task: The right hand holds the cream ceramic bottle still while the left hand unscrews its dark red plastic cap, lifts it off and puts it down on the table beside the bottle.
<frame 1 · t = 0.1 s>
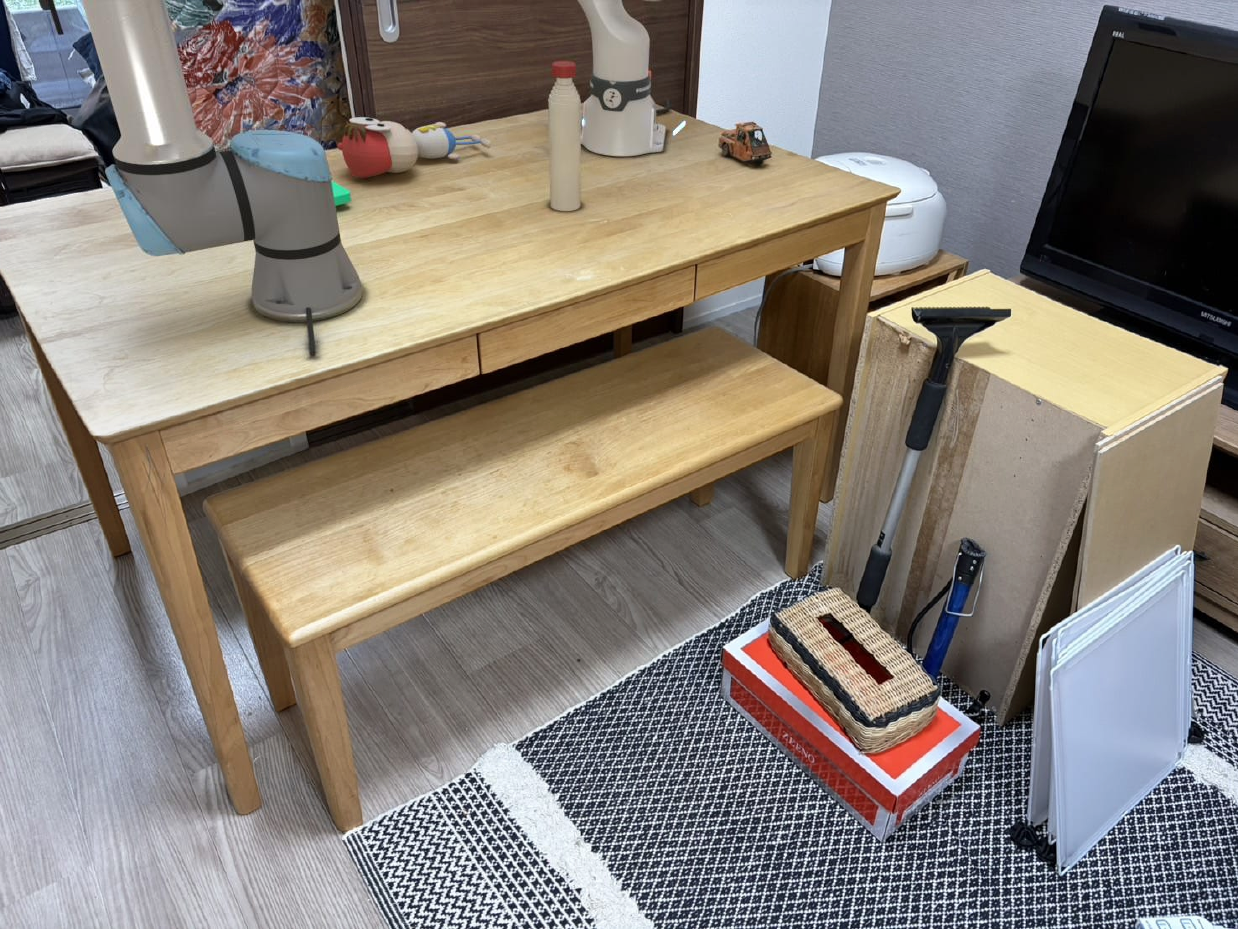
left hand: (108, 29, 146), 28 cm above the table, tool pointing down, fingers open, 13 cm apart
toy car: (744, 159, 188), on the table
cap: (564, 65, 152), point 24 cm above the table, screwed on, not yet turned
bottle: (565, 205, 166), on the table
toy: (417, 164, 181), on the table
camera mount: (318, 203, 164), on the table
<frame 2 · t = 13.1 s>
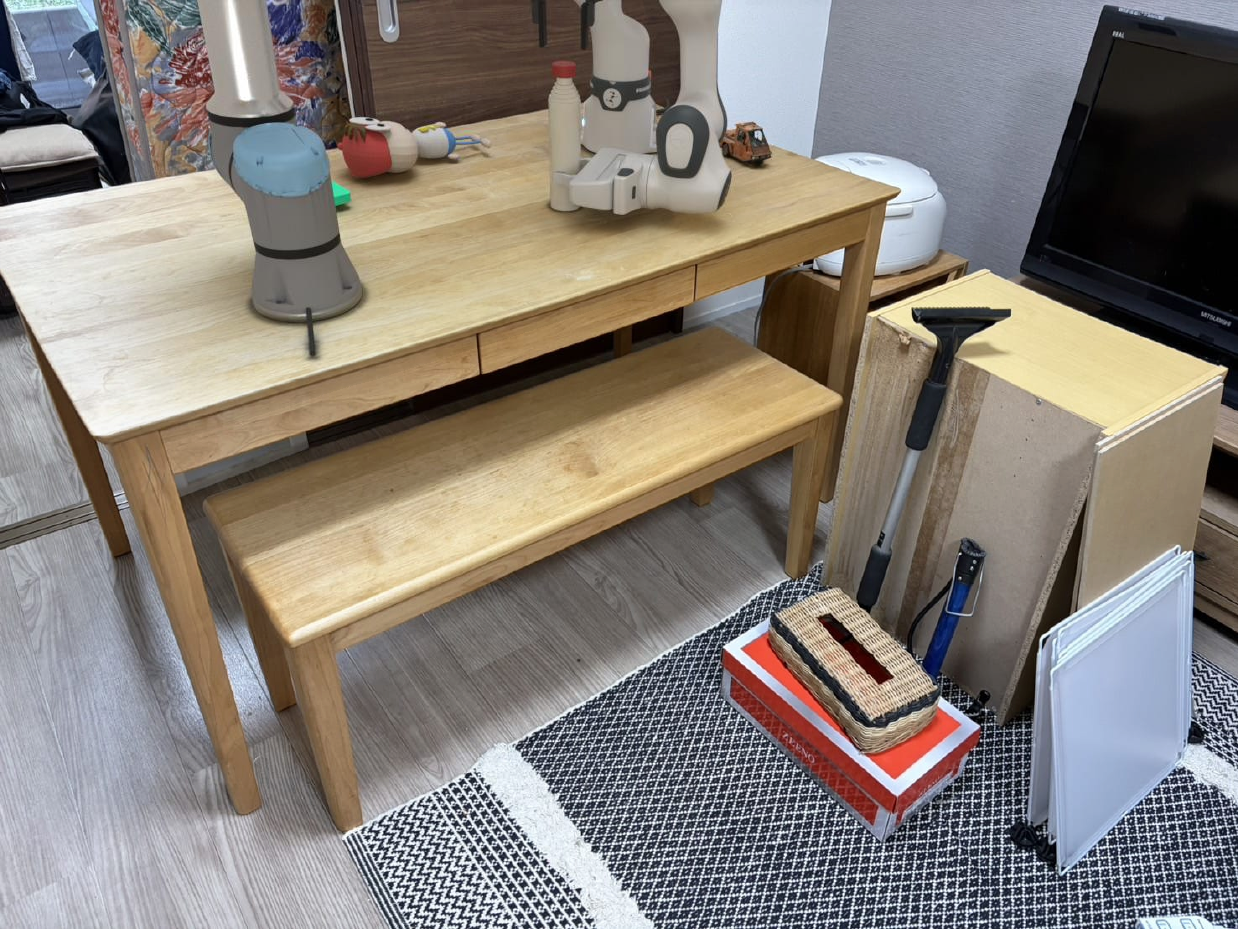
left hand: (563, 46, 150), 27 cm above the table, tool pointing down, fingers open, 6 cm apart
right hand: (560, 170, 163), 6 cm above the table, tool horizontal, fingers closed on bottle, 5 cm apart
bottle: (565, 205, 166), on the table, touching right hand
everything else where it was.
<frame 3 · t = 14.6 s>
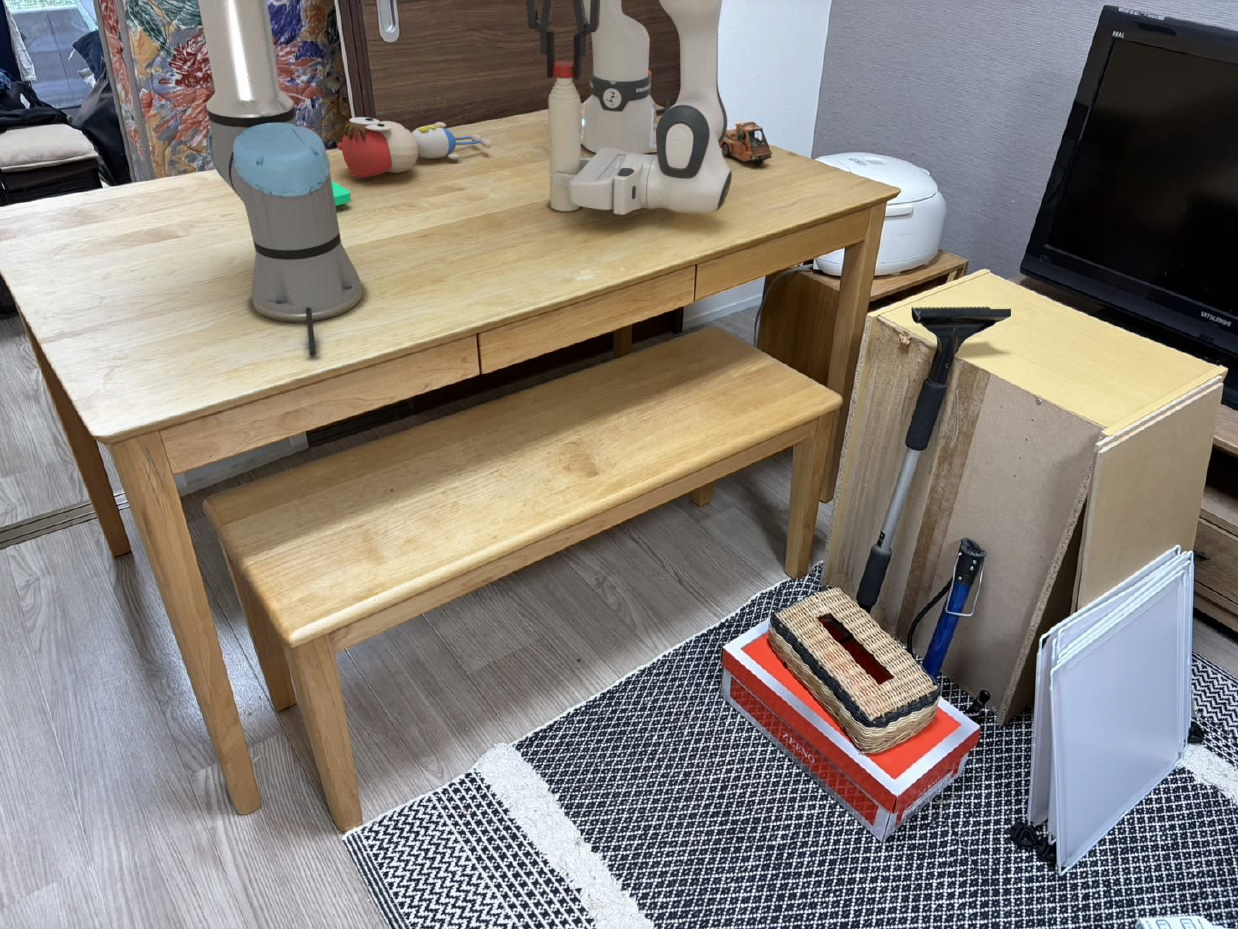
left hand: (564, 75, 153), 22 cm above the table, tool pointing down, fingers closed on cap, 4 cm apart
right hand: (560, 170, 162), 6 cm above the table, tool horizontal, fingers closed on bottle, 5 cm apart
cap: (564, 65, 152), point 24 cm above the table, screwed on, not yet turned, touching left hand
bottle: (565, 205, 166), on the table, touching right hand
everything else where it was.
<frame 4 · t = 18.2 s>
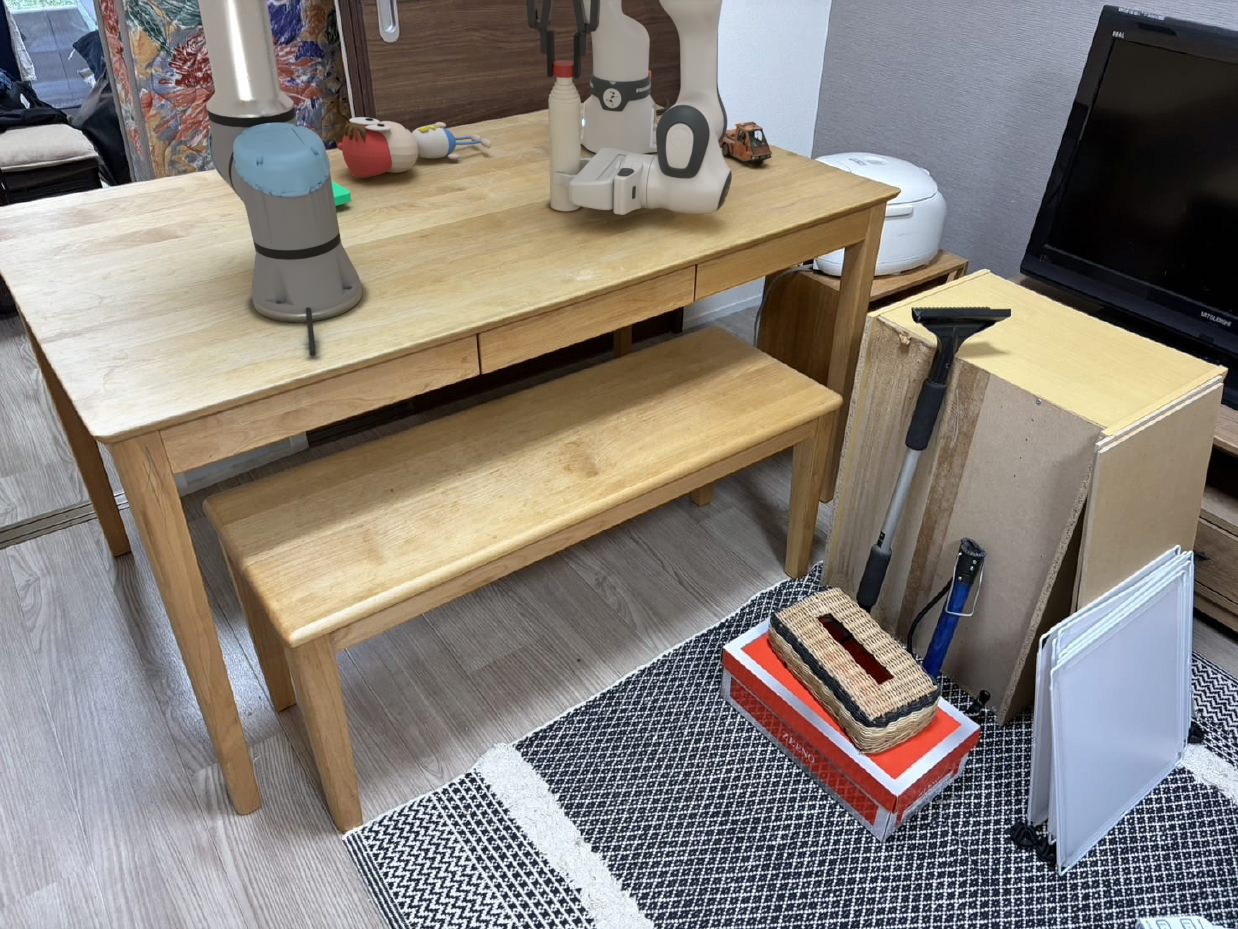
left hand: (564, 75, 153), 22 cm above the table, tool pointing down, fingers closed on cap, 4 cm apart
right hand: (560, 170, 162), 6 cm above the table, tool horizontal, fingers closed on bottle, 5 cm apart
cap: (564, 64, 152), point 24 cm above the table, turned 119° so far, risen 0.1 cm, still on its thread, touching left hand
bottle: (565, 205, 166), on the table, touching right hand
everything else where it was.
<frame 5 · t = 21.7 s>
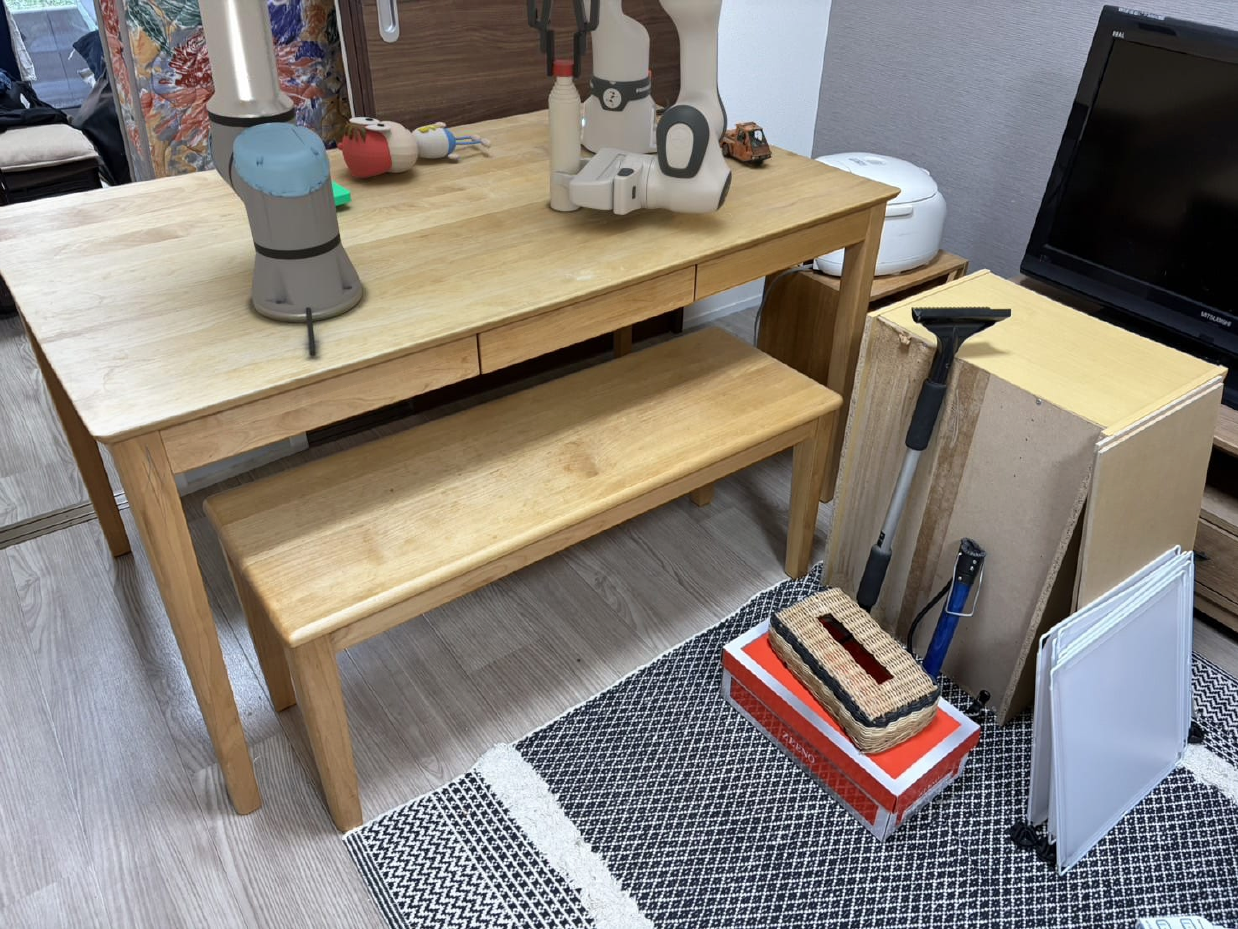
left hand: (564, 74, 153), 22 cm above the table, tool pointing down, fingers closed on cap, 4 cm apart
right hand: (560, 170, 162), 6 cm above the table, tool horizontal, fingers closed on bottle, 5 cm apart
cap: (564, 64, 152), point 24 cm above the table, turned 237° so far, risen 0.2 cm, still on its thread, touching left hand
bottle: (565, 205, 166), on the table, touching right hand
everything else where it was.
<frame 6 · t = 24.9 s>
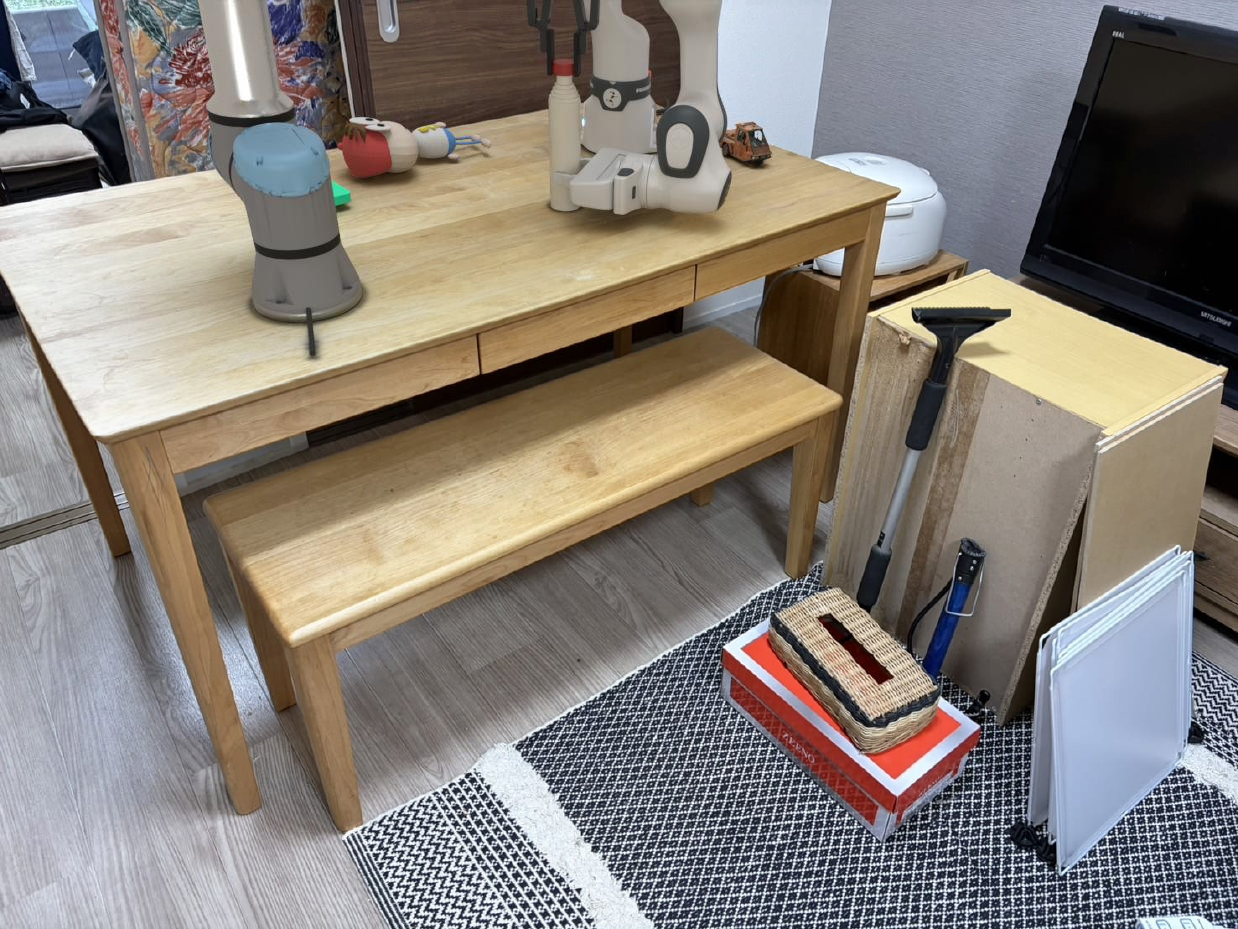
left hand: (564, 73, 153), 22 cm above the table, tool pointing down, fingers closed on cap, 4 cm apart
right hand: (560, 170, 162), 6 cm above the table, tool horizontal, fingers closed on bottle, 5 cm apart
cap: (564, 63, 152), point 24 cm above the table, turned 356° so far, risen 0.3 cm, still on its thread, touching left hand
bottle: (565, 205, 166), on the table, touching right hand
everything else where it was.
when the left hand's fingers open (1 cm above the table, at t = 33.7 s): cap drops 1 cm, point 2 cm above the table.
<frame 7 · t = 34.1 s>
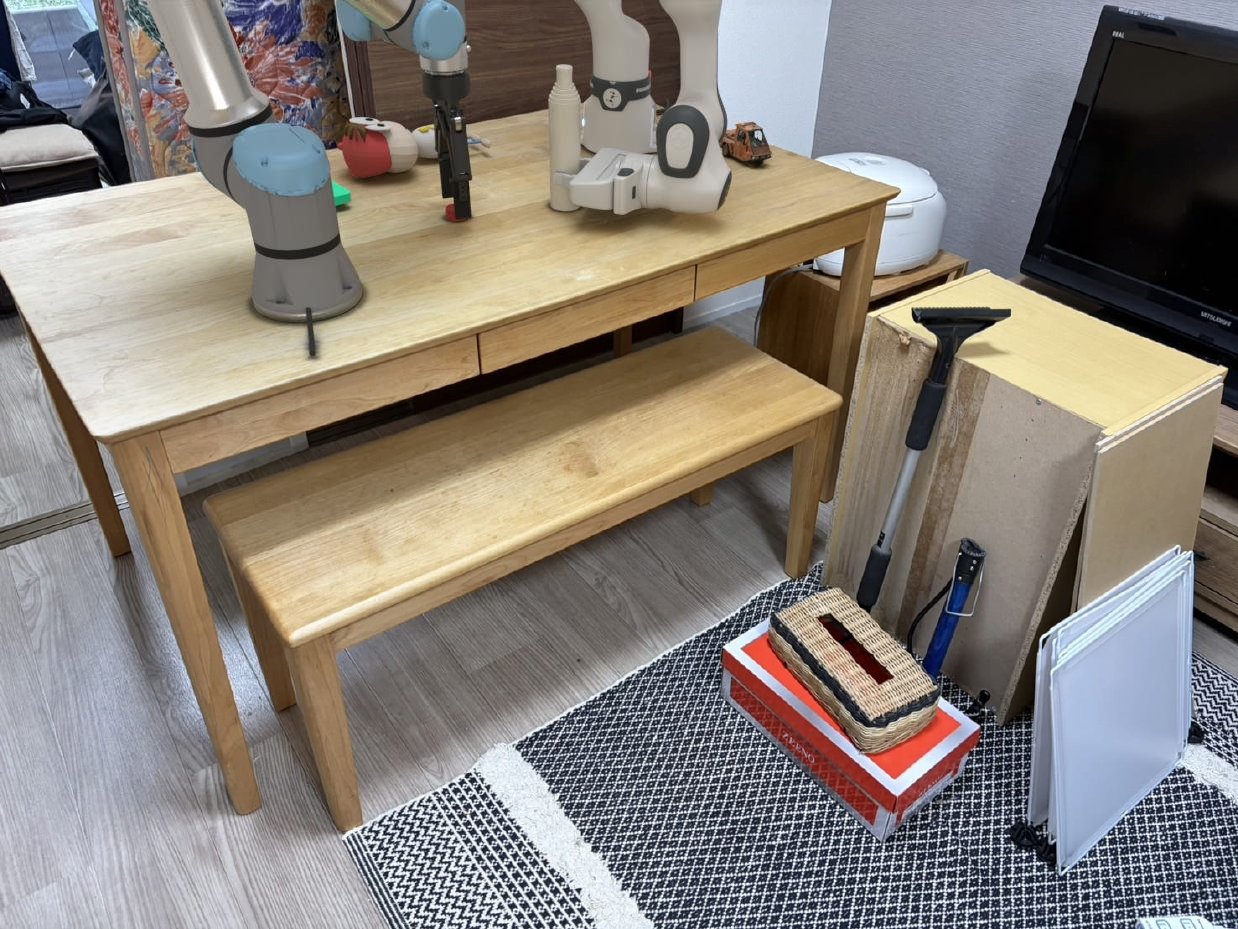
left hand: (456, 207, 159), 2 cm above the table, tool pointing down, fingers open, 9 cm apart
right hand: (560, 170, 162), 6 cm above the table, tool horizontal, fingers closed on bottle, 5 cm apart
cap: (456, 208, 160), point 2 cm above the table, off its thread
bottle: (565, 205, 166), on the table, touching right hand
everything else where it was.
when the right hand's fingers open (6 cm above the table, at t = 35.1 s): bottle stays where it is, on the table.
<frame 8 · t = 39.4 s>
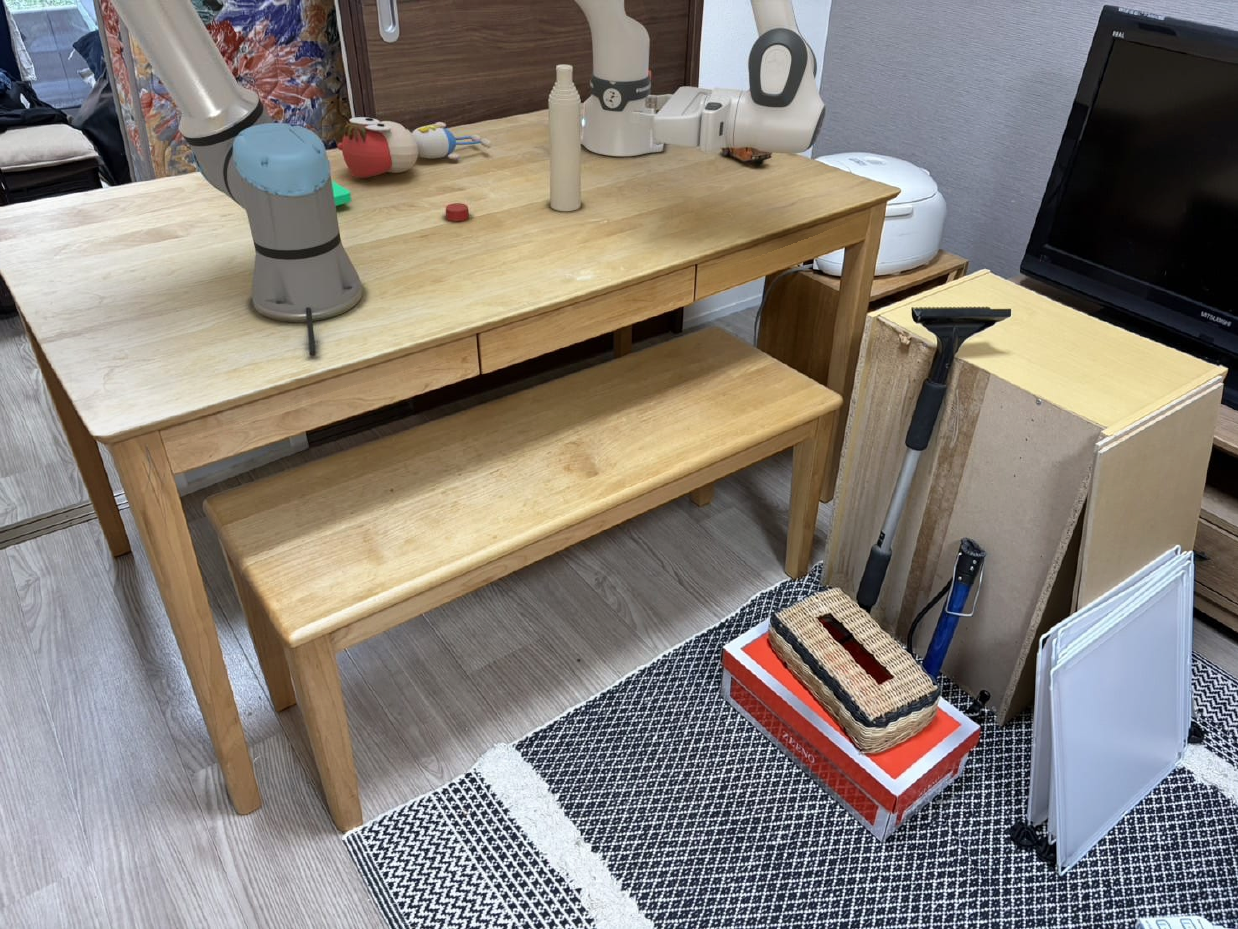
right hand: (638, 108, 153), 18 cm above the table, tool horizontal, fingers open, 8 cm apart
bottle: (565, 205, 166), on the table
everything else where it was.
at the end: cap came off its thread; cap point 1.5 cm above the table; the left hand is holding nothing; the right hand is holding nothing; bottle tilted 0°; bottle moved 0.0 cm from its start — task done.
